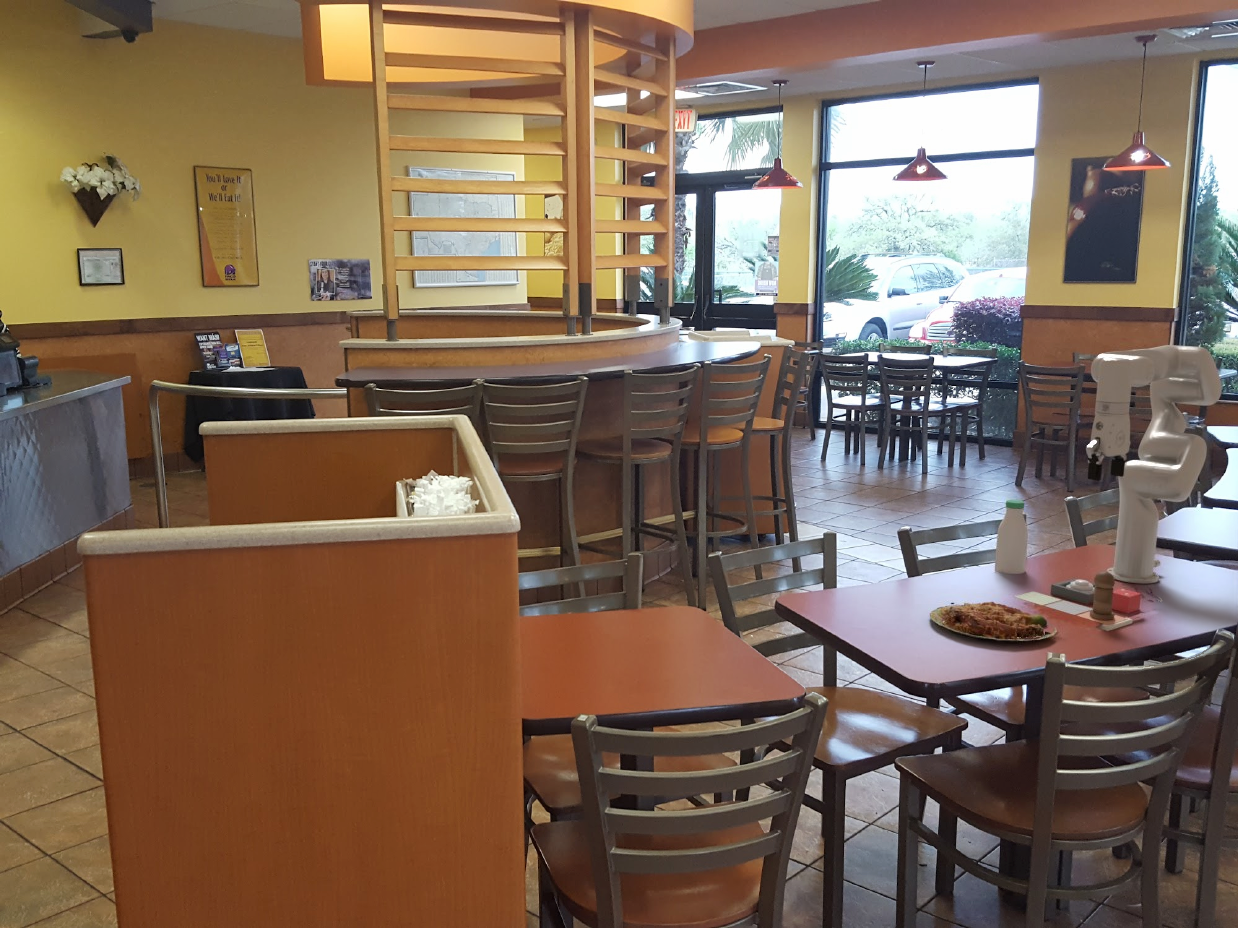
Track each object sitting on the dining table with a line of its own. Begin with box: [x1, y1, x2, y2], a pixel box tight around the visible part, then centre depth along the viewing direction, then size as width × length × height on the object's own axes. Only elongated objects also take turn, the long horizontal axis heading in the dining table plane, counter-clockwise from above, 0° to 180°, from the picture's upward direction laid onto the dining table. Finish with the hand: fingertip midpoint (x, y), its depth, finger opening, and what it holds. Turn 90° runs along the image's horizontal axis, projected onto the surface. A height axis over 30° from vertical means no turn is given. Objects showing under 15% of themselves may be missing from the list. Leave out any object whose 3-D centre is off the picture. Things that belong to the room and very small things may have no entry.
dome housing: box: [1050, 577, 1096, 605], centre depth 263 cm, size 10×10×4 cm
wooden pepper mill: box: [1089, 570, 1116, 620], centre depth 246 cm, size 5×5×11 cm
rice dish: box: [929, 601, 1058, 642], centre depth 242 cm, size 28×28×5 cm
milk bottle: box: [994, 499, 1029, 575], centre depth 284 cm, size 8×8×20 cm
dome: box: [1066, 579, 1094, 593], centre depth 263 cm, size 7×7×3 cm
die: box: [1112, 587, 1142, 618], centre depth 253 cm, size 5×5×5 cm
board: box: [1013, 591, 1134, 632], centre depth 254 cm, size 10×26×1 cm, turn 34°
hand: (1105, 477), depth 261 cm, fingers open, 9 cm apart
